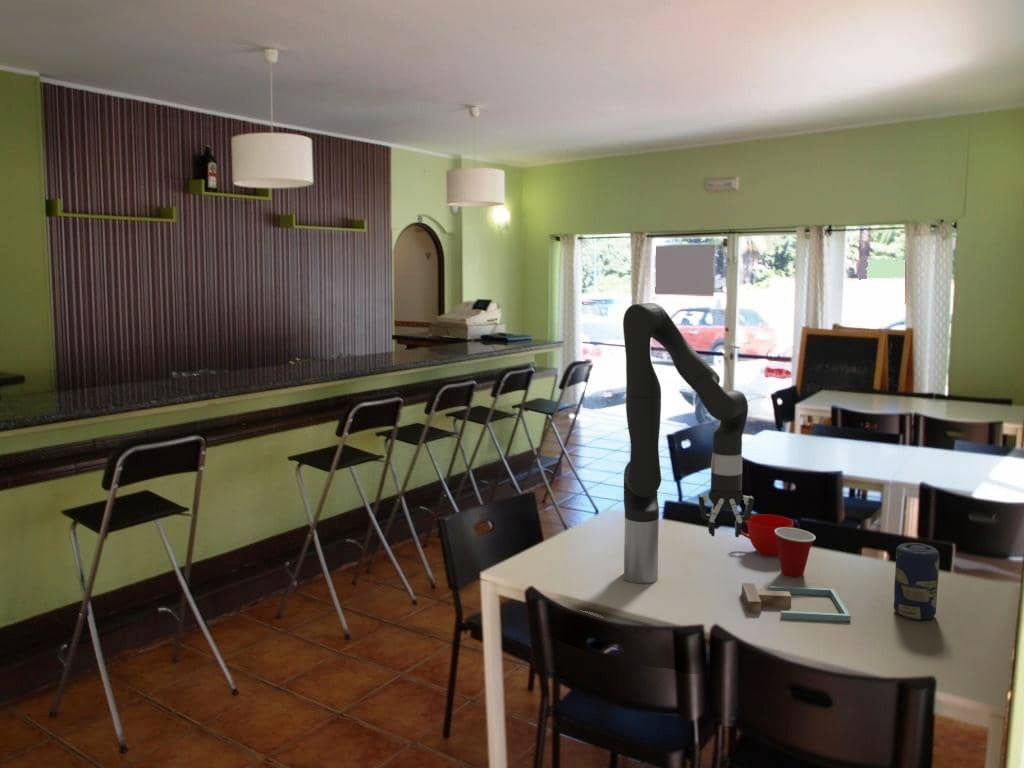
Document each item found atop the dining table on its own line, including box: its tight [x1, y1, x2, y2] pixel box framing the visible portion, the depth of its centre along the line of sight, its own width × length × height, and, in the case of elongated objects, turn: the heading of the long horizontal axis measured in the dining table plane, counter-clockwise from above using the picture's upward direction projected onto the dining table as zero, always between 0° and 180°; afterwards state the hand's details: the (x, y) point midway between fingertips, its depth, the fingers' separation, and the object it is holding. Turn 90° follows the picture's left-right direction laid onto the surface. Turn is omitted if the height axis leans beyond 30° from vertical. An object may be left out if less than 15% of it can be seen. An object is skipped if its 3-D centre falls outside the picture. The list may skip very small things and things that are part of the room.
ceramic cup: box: [741, 513, 794, 558], centre depth 246 cm, size 13×17×10 cm
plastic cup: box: [775, 527, 816, 579], centre depth 228 cm, size 11×11×12 cm
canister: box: [893, 542, 940, 620], centre depth 200 cm, size 10×10×18 cm
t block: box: [741, 582, 792, 614], centre depth 208 cm, size 11×12×3 cm
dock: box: [769, 585, 852, 622], centre depth 207 cm, size 16×17×2 cm
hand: (724, 535), depth 208 cm, fingers open, 5 cm apart
